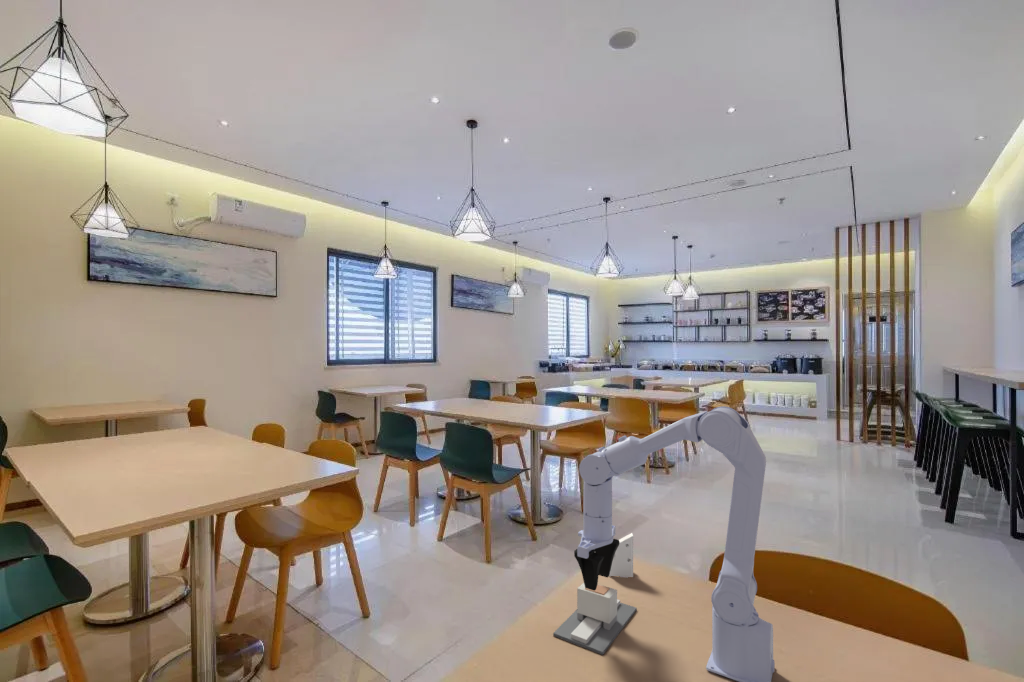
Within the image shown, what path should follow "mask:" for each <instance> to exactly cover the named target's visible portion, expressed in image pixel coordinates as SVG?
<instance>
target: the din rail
mask: <svg viewBox="0 0 1024 682" xmlns="http://www.w3.org/2000/svg"><path fill="white" fill-rule="evenodd" d="M637 609H638V608H637V607H635V606H633V605H629V604H626V603H624V602H621V600H620V599H618V598H617V621H616V622H615V624H614V625H613V626H612V627H611V629H610V630H607V629H605V628H603V621H600V620H597V619H594V618H591V617H588V616H587V617H586V618H585V619H584V620H583V621H582V620H579V619H577V609H576V610H574V612H573V613H572V614H570V616H568V617H567V619H565V620H564V622H563V623H562V624H561V625H560V626H559V627H558V628H557V629H555V631H554V632H553V633H552V634H553V637H556V638H559V639H560V640H563V641H567V642H568V643H571V644H574V645H576V646H579V647H581V648H584V649H586V650H589V651H592V652H594V653H597V654H600V655H603V656H604V654H605V653H606V651H608V649H609V647H611V644H613V642H614V641H615V639H617V637H618V636H619V635H620V633H621V632H622V631H623V629H624V628H625V626H626V625H627V623H628V622H629V621H630V619H631V618H632V617H633V615H634V614H635V613H636V612H637Z"/></svg>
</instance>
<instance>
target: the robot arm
mask: <svg viewBox="0 0 1024 682" xmlns="http://www.w3.org/2000/svg"><path fill="white" fill-rule="evenodd" d="M751 428H752V427H751V426H750V424H749V422H748V420H746V419H745V418H744V417H743V415H741V414H740V413H739V412H738V411H737V410H735V409H734V408H732V407H729V406H725V405H724V406H717V407H714V408H713V409H711V410H710V411H708V410H706V411H702V412H699V413H695V414H692V415H688V416H686V417H683V418H681V419H679V420H677V421H675V422H672V424H669V425H667V426H665V427H663V428H661V429H658V430H657V431H655V432H652V433H651V434H649V435H647V436H645V437H643V438H639V437H636V436H633V435H630V436H628V437H627V435H623V436H621V437H618V439H617V440H618V442H615V443H613V444H610V445H609V446H606V447H605V446H602V447H599V448H598V451H596V452H594V453H592V454H588V455H586V457H584V458H582V460H581V461H580V463H579V467H578V470H579V475H580V477H581V479H582V480H583V491H582V492H583V493H582V494H583V509H582V510H583V511H582V512H583V513H582V514H583V516H582V518H583V519H582V520H583V522H582V523H583V525H582V529H581V530H579V531H578V532H577V536H578V537H580V542H579V544H578V545H577V546H576V547H577V548H576V549H575V550H574V558H575V560H576V562H577V564H578V566H579V569H580V572H581V575H582V580H583V583H584V585H585V588H588V589H591V590H596V588H597V584H599V583H598V582H599V576H601V577H604V578H607V579H608V578H609V577H610V576H609V574H610V570H611V566H612V561H613V557H614V554H615V552H616V550H617V548H618V546H619V539H617V538H614V536H616V529H617V528H616V525H613V477H614V476H616V477H617V476H619V475H623V474H624V473H626V472H629V471H631V470H634V469H636V468H638V467H640V466H643V465H645V464H646V463H647V460H648V456H649V455H650V454H653V453H654V452H657V451H659V450H662V449H664V448H666V447H669V446H670V447H671V446H672V445H674V444H677V443H678V442H679V443H680V442H682V441H690V442H693V443H699V442H701V441H703V442H704V444H706V445H708V446H709V447H711V448H712V449H714V450H716V451H718V452H720V453H721V454H722V455H723V456H724V458H725V459H727V460H728V462H729V463H730V464H731V465H732V466H733V467H734V473H733V481H732V491H731V497H730V498H731V499H730V505H729V507H730V508H729V513H728V514H729V515H728V520H727V521H728V522H727V523H728V524H727V530H726V538H725V540H726V541H725V545H724V546H725V547H724V555H723V561H722V566H721V570H720V571H719V574H718V578H717V582H716V585H715V587H714V589H713V591H712V593H711V597H710V598H711V605H712V607H711V608H712V610H711V611H712V616H711V623H712V625H711V626H712V627H711V630H712V631H711V633H712V634H711V635H712V639H711V640H712V642H711V643H712V646H711V647H712V649H711V652H710V656H709V658H708V660H707V663H706V666H705V669H706V670H707V671H708V672H711V673H714V674H717V675H720V676H722V677H726V678H727V679H730V680H733V681H736V682H772V680H773V673H775V668H776V667H775V664H776V663H775V659H774V625H773V624H772V623H771V622H770V621H769V622H768V621H767V620H765V619H763V618H761V617H760V616H759V612H757V609H756V607H755V606H754V605H755V598H756V595H757V592H758V583H757V580H756V577H755V576H754V568H755V567H754V566H755V556H756V555H755V554H756V546H757V538H758V532H759V531H758V530H759V522H760V513H761V504H762V498H763V491H764V483H765V476H766V468H767V467H766V466H767V458H766V454H765V453H764V451H763V449H762V447H761V446H760V443H759V442H758V440H757V438H756V437H755V434H754V433H753V430H752V429H751Z"/></svg>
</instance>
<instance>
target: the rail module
mask: <svg viewBox="0 0 1024 682" xmlns="http://www.w3.org/2000/svg"><path fill="white" fill-rule="evenodd" d="M576 594H577V595H576V596H577V599H576V601H577V602H576V603H577V604H576V605H577V606H576V607H577V608H576V610H577V619H579V620H582V621H583V620H584V619H585V618H586V617H587V616H588V617H591V618H594V619H597V620H600V621H603V628H605V629H607V630H610V629H611V627H612V626H613V625H614V624H615V622H616V621H617V599H618V589H616V588H612V587H609V586H605V585H601V584H599V583H598V584H597V588H596V590H591V589H588V588H585V585H584V582H583V583H582V584H581V585H580V586H578V587H577V593H576Z"/></svg>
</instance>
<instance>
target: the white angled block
mask: <svg viewBox="0 0 1024 682" xmlns="http://www.w3.org/2000/svg"><path fill="white" fill-rule="evenodd" d="M618 540H619V546H618V548H617V550H616V552H615V554H614V557H613V561H612V566H611V570H610V574H609V577H611V576H620V577H619V578H628V577H633V578H634V534H633V532H631V533H629V534H627V535H625V536H623V537H621V538H620V539H618Z"/></svg>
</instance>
